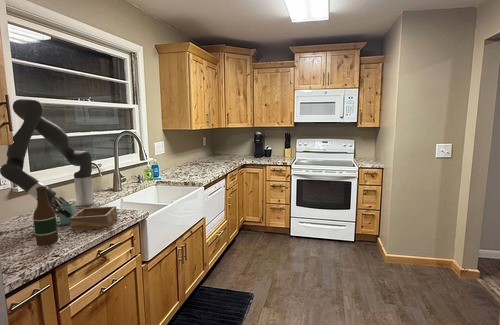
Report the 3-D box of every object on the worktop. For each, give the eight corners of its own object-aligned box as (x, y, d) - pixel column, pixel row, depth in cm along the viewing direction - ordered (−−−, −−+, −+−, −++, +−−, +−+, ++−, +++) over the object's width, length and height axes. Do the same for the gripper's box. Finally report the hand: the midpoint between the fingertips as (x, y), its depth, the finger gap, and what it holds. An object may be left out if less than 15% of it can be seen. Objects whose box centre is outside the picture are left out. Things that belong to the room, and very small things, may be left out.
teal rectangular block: (64, 221, 148) (62, 204, 147) (76, 220, 150) (74, 203, 149) (60, 225, 143) (58, 207, 142) (73, 224, 145) (71, 206, 143)
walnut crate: (84, 219, 151) (83, 208, 151) (116, 217, 154) (116, 206, 153) (71, 230, 136) (70, 218, 135) (107, 227, 138) (106, 215, 138)
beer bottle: (62, 238, 126) (56, 184, 123) (51, 245, 119) (44, 188, 115) (44, 238, 126) (38, 184, 123) (31, 246, 118) (24, 189, 115)
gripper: (41, 190, 135) (72, 213, 140) (53, 184, 149) (81, 205, 154) (29, 202, 135) (61, 224, 139) (42, 195, 148) (71, 215, 153)
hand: (71, 214), depth 146 cm, fingers closed on teal rectangular block, 5 cm apart
